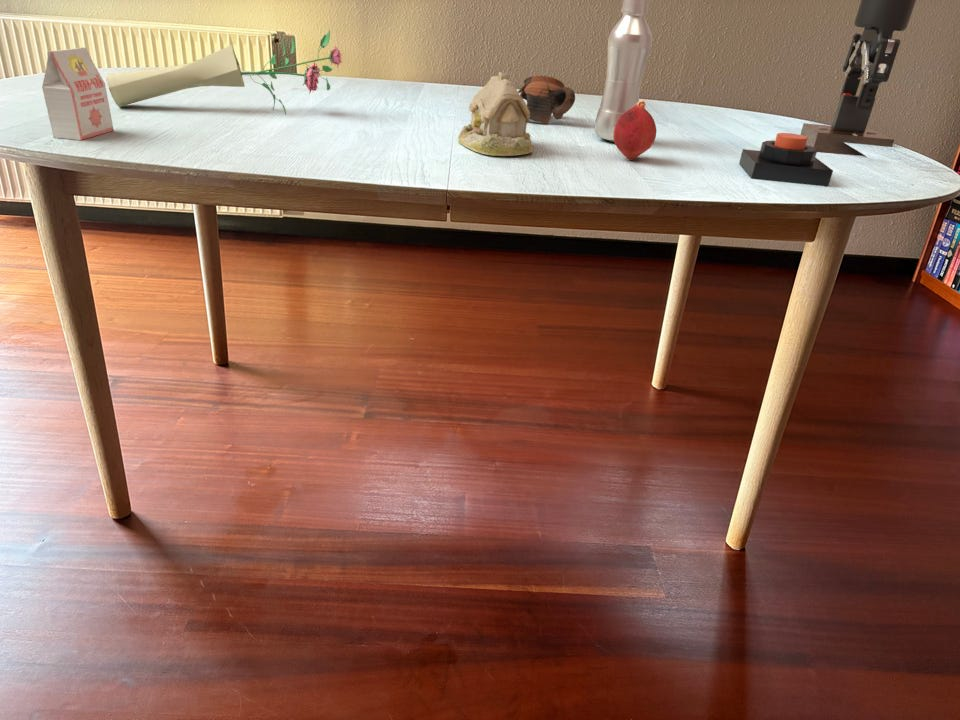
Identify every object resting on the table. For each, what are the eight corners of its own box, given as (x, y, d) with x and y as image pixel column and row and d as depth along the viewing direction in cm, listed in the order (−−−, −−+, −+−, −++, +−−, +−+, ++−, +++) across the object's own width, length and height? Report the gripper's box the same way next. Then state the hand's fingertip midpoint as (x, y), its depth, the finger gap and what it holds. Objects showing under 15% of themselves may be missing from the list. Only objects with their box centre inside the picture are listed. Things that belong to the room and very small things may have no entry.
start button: (800, 147, 95) (803, 134, 94) (807, 153, 92) (811, 139, 91) (770, 144, 95) (774, 131, 95) (777, 150, 92) (780, 137, 91)
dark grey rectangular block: (861, 131, 115) (872, 95, 113) (864, 133, 114) (876, 96, 111) (830, 128, 116) (841, 92, 113) (833, 130, 114) (844, 93, 112)
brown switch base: (868, 147, 120) (874, 128, 118) (888, 158, 112) (895, 138, 110) (798, 140, 121) (803, 122, 119) (812, 151, 113) (818, 131, 111)
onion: (628, 166, 94) (639, 104, 90) (601, 156, 98) (610, 97, 94) (659, 163, 97) (670, 103, 93) (631, 154, 101) (641, 96, 97)
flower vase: (143, 151, 112) (351, 107, 118) (121, 144, 101) (353, 95, 106) (118, 76, 110) (333, 34, 115) (92, 60, 98) (332, 14, 103)
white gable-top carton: (53, 137, 86) (33, 50, 81) (87, 127, 92) (71, 46, 87) (80, 140, 85) (62, 53, 80) (113, 130, 91) (98, 48, 86)
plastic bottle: (599, 134, 113) (619, -2, 103) (639, 141, 110) (664, 1, 100) (587, 140, 107) (607, -3, 98) (629, 147, 105) (653, 1, 95)
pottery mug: (501, 121, 120) (509, 75, 120) (531, 141, 128) (539, 98, 128) (558, 113, 113) (566, 64, 113) (587, 135, 120) (595, 89, 120)
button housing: (809, 171, 99) (818, 143, 97) (828, 187, 91) (837, 156, 89) (738, 164, 100) (745, 136, 98) (751, 179, 92) (759, 148, 90)
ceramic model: (450, 135, 104) (453, 64, 99) (520, 137, 106) (526, 67, 102) (472, 157, 92) (477, 77, 87) (550, 158, 95) (560, 81, 90)
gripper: (935, -3, 99) (893, 114, 107) (897, -4, 111) (862, 101, 119) (881, -7, 99) (843, 109, 107) (850, -8, 112) (818, 97, 120)
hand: (853, 105), depth 113 cm, fingers open, 8 cm apart
